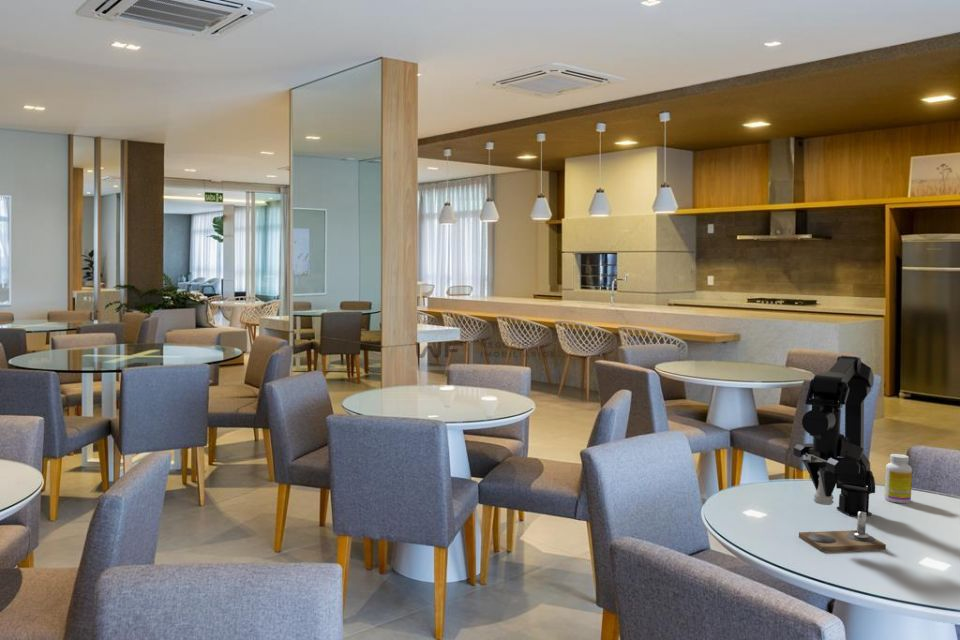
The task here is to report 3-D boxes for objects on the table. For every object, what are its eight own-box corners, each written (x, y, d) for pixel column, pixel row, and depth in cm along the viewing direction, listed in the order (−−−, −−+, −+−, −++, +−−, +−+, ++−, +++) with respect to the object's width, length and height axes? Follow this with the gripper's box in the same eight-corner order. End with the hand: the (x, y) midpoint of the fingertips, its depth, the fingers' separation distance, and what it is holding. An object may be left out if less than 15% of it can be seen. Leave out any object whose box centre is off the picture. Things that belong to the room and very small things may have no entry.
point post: (863, 534, 193) (864, 510, 192) (871, 539, 189) (872, 514, 189) (850, 535, 192) (851, 510, 192) (858, 539, 189) (859, 514, 189)
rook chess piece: (819, 505, 186) (820, 471, 186) (809, 499, 191) (811, 466, 190) (837, 505, 187) (839, 471, 186) (827, 499, 191) (829, 466, 191)
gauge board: (859, 534, 196) (859, 529, 196) (885, 549, 186) (885, 544, 186) (798, 537, 194) (798, 531, 194) (821, 552, 184) (821, 546, 184)
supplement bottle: (915, 504, 222) (917, 458, 222) (891, 503, 223) (893, 458, 222) (903, 497, 229) (905, 453, 228) (879, 496, 229) (881, 452, 228)
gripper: (883, 436, 180) (880, 505, 181) (835, 420, 198) (833, 482, 199) (837, 437, 178) (834, 506, 179) (793, 421, 196) (791, 483, 198)
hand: (823, 494), depth 189 cm, fingers closed on rook chess piece, 3 cm apart
